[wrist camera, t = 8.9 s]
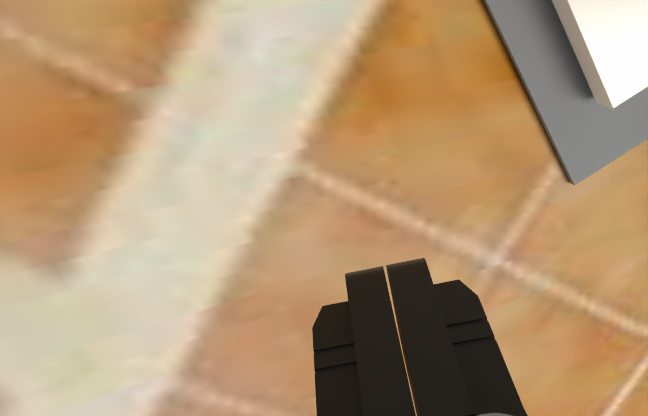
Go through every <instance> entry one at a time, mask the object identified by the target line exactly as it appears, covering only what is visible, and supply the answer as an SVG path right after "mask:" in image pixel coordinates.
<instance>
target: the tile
mask: <svg viewBox="0 0 648 416" xmlns="http://www.w3.org/2000/svg"><path fill="white" fill-rule="evenodd" d="M552 2H553V4H554V6H555V9H556V11H557V13H558V16H559V18H560V20H561V23H562V25H563V27H564V29H565V32H566V34H567V36H568V39H569V41H570V43H571V45H572V48H573V50H574V52H575V55H576V57H577V59H578V62H579V64H580V66H581V68H582V71H583V73H584V75H585V78H586V80H587V82H588V85H589V87H590V89H591V91H592V94H593V96H594V98H595V101H596V103H597V104H600V105H604V106H607V107H611V108H615V107H616V106H618V105H619V104H621V103H623V102H624V101H626V100H627V99H629V98H630V97H632V96H633V95H635V94H637V93H638V92H640V91H641V90H643V89H644V88H646V87H648V0H552Z"/></svg>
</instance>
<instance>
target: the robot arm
mask: <svg viewBox="0 0 648 416" xmlns="http://www.w3.org/2000/svg"><path fill="white" fill-rule="evenodd" d="M386 267H387V273H388V278H389V283H390V288H391V293H392V299H393V304H394V309H395V314H396V320H397V325H398V330H399V335H400V340H401V344H402V349H403V354H404V359H405V363H406V368H407V372H408V377H409V381H410V386H411V390H412V395H413V399H414V404H415V408H416V413H417V416H528V415H527V414H526V412H525V410H524V408H523V406H522V403H521V401H520V398H519V396H518V393H517V391H516V388H515V386H514V383H513V381H512V378H511V376H510V374H509V371H508V369H507V366H506V364H505V361H504V359H503V356H502V354H501V351H500V349H499V347H498V344H497V342H496V340H495V338H494V334H493V332H492V329H491V327H490V324H489V322H488V321H487V317H486V315H485V312H484V310H483V307H482V305H481V302H480V300H479V297H478V296H477V295H476V294H475V293H474V292H473V291H472V290H470V289H469V288H468V287H467V286H466V285H465V284H463V283H462V282H461V281H460V280H454V281H449V282H444V283H439V284H434V285H433V282H432V279H431V276H430V272H429V269H428V266H427V263H426V260H425V258H421V259H416V260H411V261H406V262H401V263H396V264H391V265H386ZM345 278H346V286H347V293H348V301H347V302H341V303H336V304H331V305H326V306H322V308H321V310H320V313H319V315H318V317H317V319H316V321H315V323H314V326H313V328H312V329H313V348H314V368H315V387H316V406H317V416H416V415H415V410H414V406H413V401H412V397H411V392H410V387H409V383H408V378H407V374H406V369H405V365H404V360H403V355H402V351H401V346H400V342H399V337H398V333H397V328H396V324H395V319H394V314H393V310H392V305H391V301H390V296H389V292H388V287H387V282H386V278H385V273H384V269H383V266H381V267H376V268H371V269H366V270H361V271H356V272H351V273H346V274H345Z"/></svg>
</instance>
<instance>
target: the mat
mask: <svg viewBox="0 0 648 416" xmlns="http://www.w3.org/2000/svg"><path fill="white" fill-rule="evenodd" d="M483 1H484V3H485V5H486V7H487V9H488V11H489V13H490V15H491V18H492V20H493V22H494V24H495V26H496V28H497V30H498V32H499V34H500V36H501V38H502V40H503V43H504V45H505V47H506V49H507V51H508V53H509V55H510V57H511V59H512V61H513V63H514V65H515V68H516V70H517V72H518V74H519V76H520V78H521V80H522V82H523V84H524V86H525V88H526V90H527V93H528V95H529V97H530V99H531V101H532V103H533V105H534V107H535V109H536V111H537V113H538V115H539V118H540V120H541V122H542V124H543V126H544V128H545V130H546V132H547V134H548V136H549V138H550V140H551V143H552V145H553V147H554V149H555V151H556V153H557V155H558V157H559V159H560V161H561V163H562V165H563V168H564V170H565V172H566V174H567V176H568V178H569V180H570V182H571V184H573V185H576V184H577V183H579V182H581V181H582V180H584V179H585V178H587V177H588V176H590V175H592V174H593V173H595V172H596V171H598V170H599V169H601V168H603V167H604V166H606V165H607V164H609V163H610V162H612V161H614V160H615V159H617V158H618V157H620V156H621V155H623V154H625V153H626V152H628V151H629V150H631V149H632V148H634V147H636V146H637V145H639V144H640V143H642V142H643V141H645V140H647V139H648V87H646V88H644V89H643V90H641V91H640V92H638V93H637V94H635V95H633V96H632V97H630V98H629V99H627V100H626V101H624V102H623V103H621V104H619V105H618V106H616V107H615V108H611V107H607V106H604V105H600V104H597V103H596V101H595V98H594V96H593V94H592V91H591V89H590V87H589V85H588V82H587V80H586V78H585V75H584V73H583V71H582V68H581V66H580V64H579V62H578V59H577V57H576V55H575V52H574V50H573V48H572V45H571V43H570V41H569V39H568V36H567V34H566V32H565V29H564V27H563V25H562V23H561V20H560V18H559V16H558V13H557V11H556V9H555V6H554V4H553V2H552V0H483Z"/></svg>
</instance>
